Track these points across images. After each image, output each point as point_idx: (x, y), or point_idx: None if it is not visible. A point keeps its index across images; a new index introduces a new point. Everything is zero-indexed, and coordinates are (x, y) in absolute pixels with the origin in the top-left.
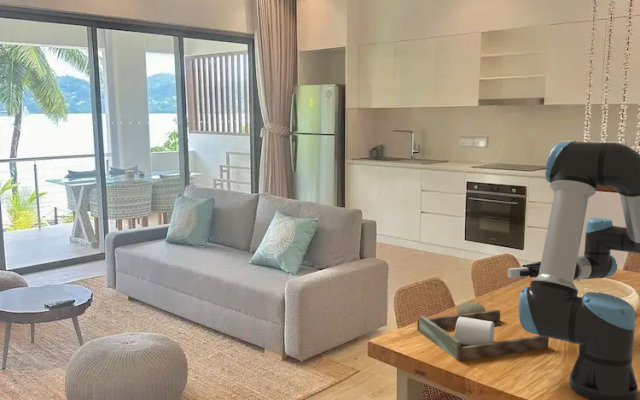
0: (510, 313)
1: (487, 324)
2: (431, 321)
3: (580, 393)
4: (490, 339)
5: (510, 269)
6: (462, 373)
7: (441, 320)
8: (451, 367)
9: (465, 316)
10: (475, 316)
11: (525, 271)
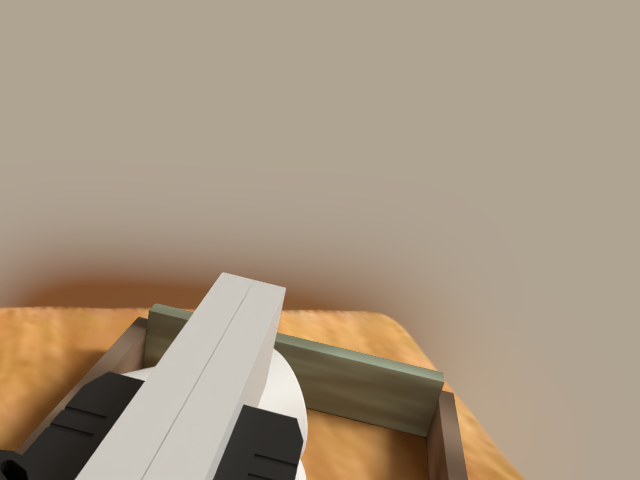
0: None
1: (129, 375)
2: (439, 435)
3: None
4: None
5: (235, 276)
6: (73, 316)
7: (443, 475)
8: (123, 322)
9: None
10: None
11: (76, 419)
